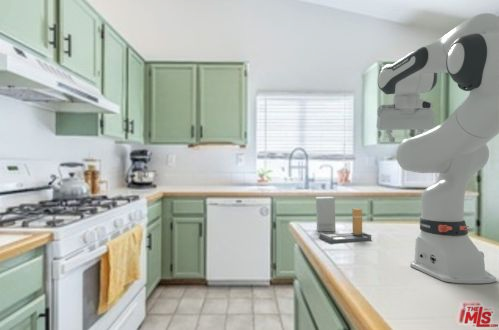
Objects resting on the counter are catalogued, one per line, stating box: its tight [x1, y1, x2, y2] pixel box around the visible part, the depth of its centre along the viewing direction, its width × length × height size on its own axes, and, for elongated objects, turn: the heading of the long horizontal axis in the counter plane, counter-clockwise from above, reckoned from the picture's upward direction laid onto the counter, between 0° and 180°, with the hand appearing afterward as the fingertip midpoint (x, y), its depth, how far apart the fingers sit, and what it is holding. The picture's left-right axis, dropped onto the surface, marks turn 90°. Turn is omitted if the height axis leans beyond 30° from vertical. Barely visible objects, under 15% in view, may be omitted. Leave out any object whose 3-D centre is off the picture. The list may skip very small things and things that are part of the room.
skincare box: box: [315, 196, 337, 233], centre depth 163 cm, size 8×7×16 cm
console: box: [319, 231, 372, 244], centre depth 144 cm, size 18×10×2 cm, turn 104°
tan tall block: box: [350, 208, 364, 236], centre depth 145 cm, size 4×4×11 cm
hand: (404, 142), depth 130 cm, fingers open, 8 cm apart
